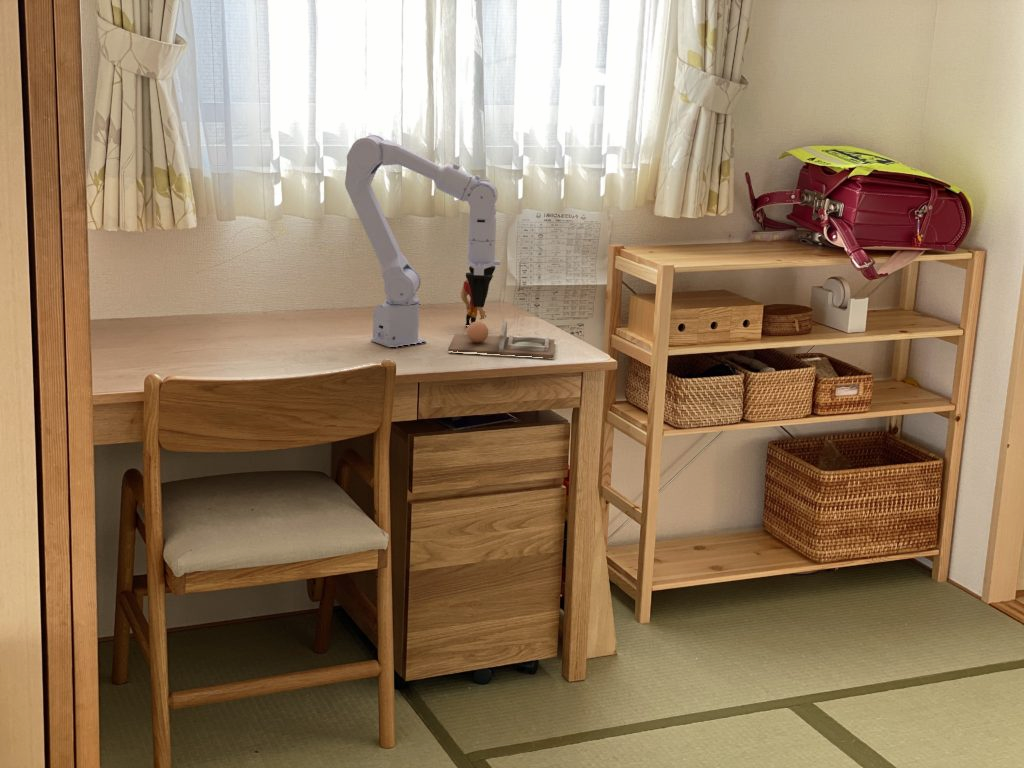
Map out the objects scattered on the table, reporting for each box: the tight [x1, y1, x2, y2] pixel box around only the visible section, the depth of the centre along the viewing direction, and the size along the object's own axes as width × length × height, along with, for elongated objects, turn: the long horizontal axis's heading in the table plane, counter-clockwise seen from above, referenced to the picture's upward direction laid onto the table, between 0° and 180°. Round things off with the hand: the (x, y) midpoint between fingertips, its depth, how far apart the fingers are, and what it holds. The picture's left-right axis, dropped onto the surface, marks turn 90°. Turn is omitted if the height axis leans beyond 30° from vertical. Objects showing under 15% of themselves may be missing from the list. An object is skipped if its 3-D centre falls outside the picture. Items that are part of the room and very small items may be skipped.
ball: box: [466, 321, 489, 343], centre depth 256 cm, size 5×5×5 cm
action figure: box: [460, 271, 487, 325], centre depth 272 cm, size 10×4×15 cm, turn 25°
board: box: [447, 320, 556, 359], centre depth 256 cm, size 22×14×4 cm, turn 87°
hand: (479, 303), depth 255 cm, fingers open, 7 cm apart
